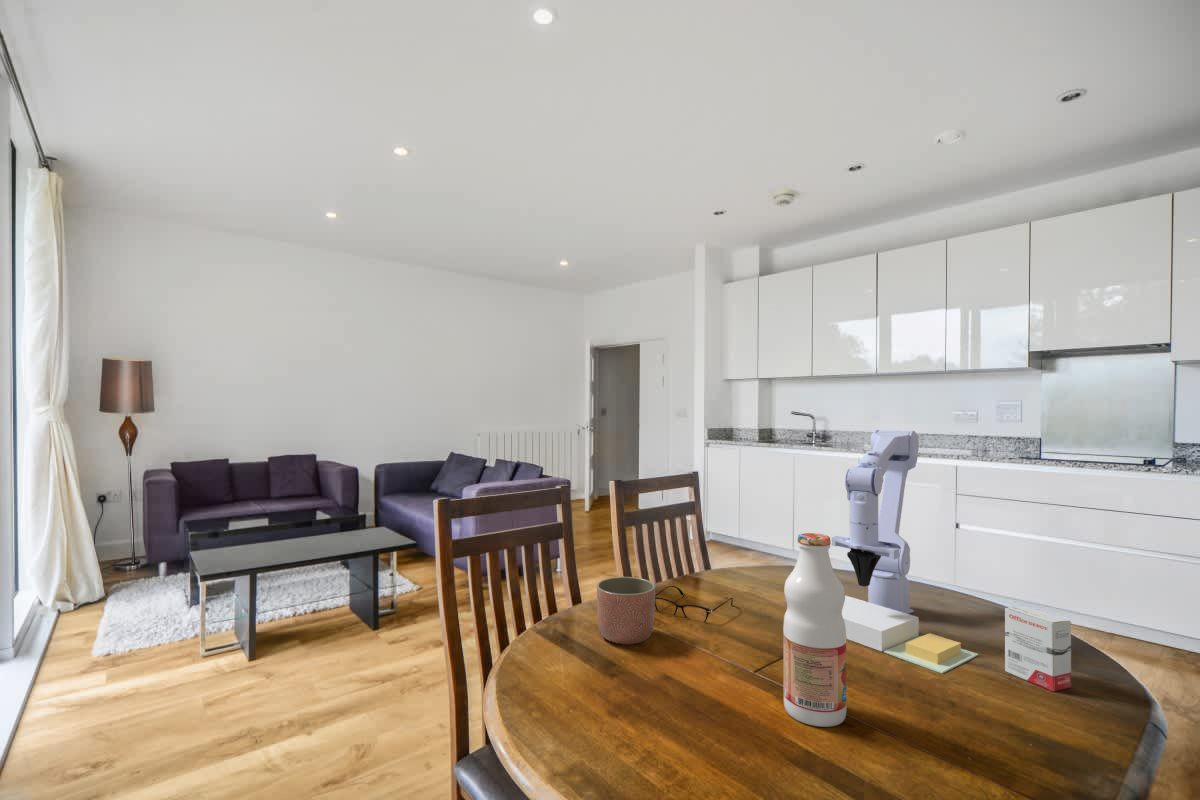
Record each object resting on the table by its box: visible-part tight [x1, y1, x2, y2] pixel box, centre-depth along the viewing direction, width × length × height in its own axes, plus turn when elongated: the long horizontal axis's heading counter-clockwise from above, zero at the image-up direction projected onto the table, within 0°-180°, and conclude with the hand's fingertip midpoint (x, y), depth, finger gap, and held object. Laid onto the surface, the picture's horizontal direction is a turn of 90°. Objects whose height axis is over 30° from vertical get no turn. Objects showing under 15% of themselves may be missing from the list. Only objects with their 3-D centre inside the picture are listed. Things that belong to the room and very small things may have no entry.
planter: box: [596, 576, 656, 645], centre depth 122 cm, size 12×12×11 cm
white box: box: [842, 594, 920, 652], centre depth 128 cm, size 14×22×4 cm, turn 34°
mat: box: [883, 635, 979, 674], centre depth 114 cm, size 14×11×1 cm
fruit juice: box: [782, 532, 847, 728], centre depth 92 cm, size 9×9×28 cm
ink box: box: [1004, 605, 1072, 692], centre depth 104 cm, size 8×5×12 cm, turn 20°
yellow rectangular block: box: [906, 632, 962, 665], centre depth 114 cm, size 9×6×2 cm, turn 124°
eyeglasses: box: [655, 585, 734, 623], centre depth 140 cm, size 16×16×4 cm
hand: (864, 585), depth 126 cm, fingers closed
